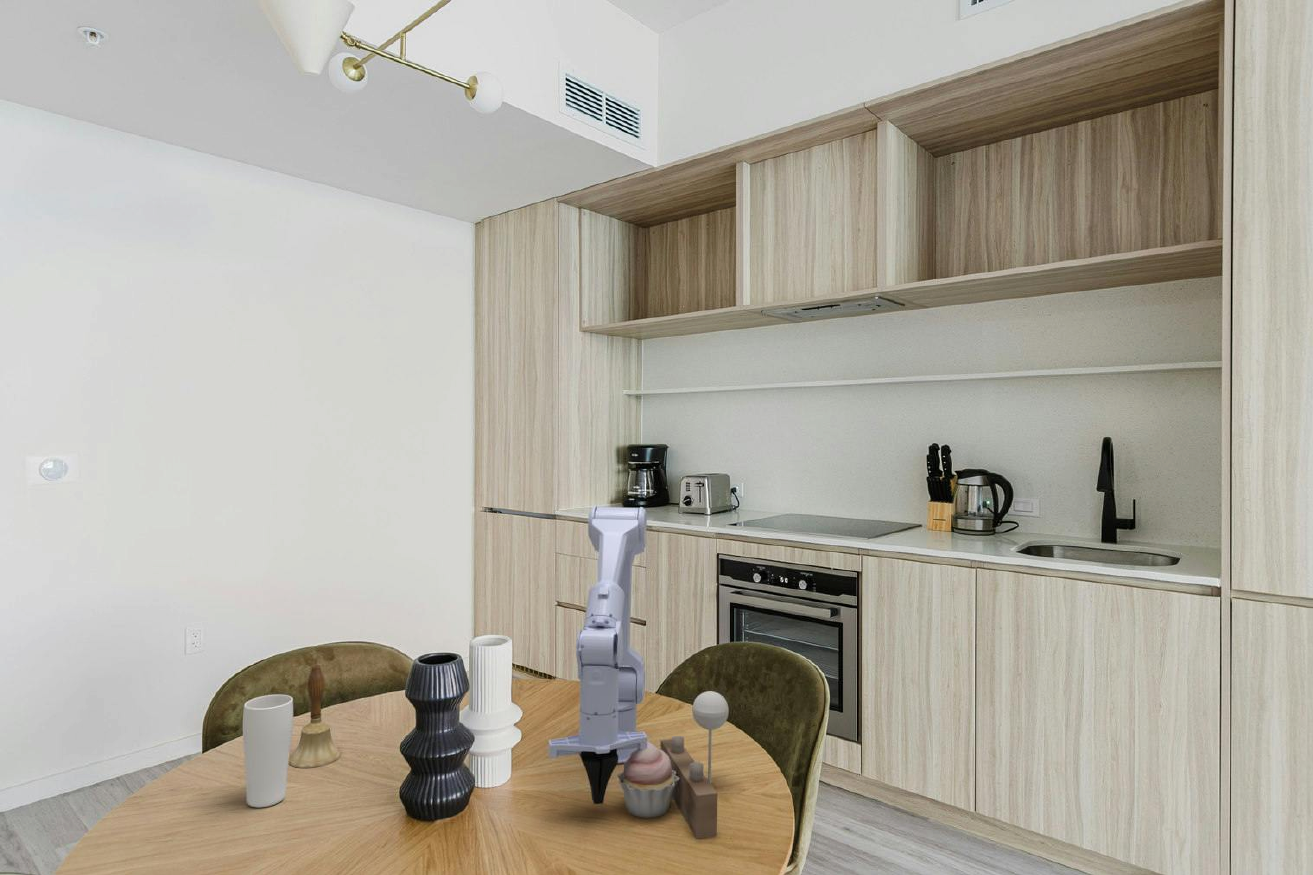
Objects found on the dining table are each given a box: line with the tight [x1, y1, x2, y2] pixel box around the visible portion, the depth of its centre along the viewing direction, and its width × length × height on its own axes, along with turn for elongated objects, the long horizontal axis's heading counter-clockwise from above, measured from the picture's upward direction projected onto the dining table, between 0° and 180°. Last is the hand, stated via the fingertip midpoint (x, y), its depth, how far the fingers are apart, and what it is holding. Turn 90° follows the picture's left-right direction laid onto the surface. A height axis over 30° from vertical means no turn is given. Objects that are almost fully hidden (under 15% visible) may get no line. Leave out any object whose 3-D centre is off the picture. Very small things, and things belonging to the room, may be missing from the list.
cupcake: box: [616, 740, 680, 819], centre depth 110 cm, size 9×9×10 cm
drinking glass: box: [242, 693, 294, 808], centre depth 111 cm, size 7×7×15 cm
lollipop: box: [691, 690, 730, 785], centre depth 118 cm, size 6×6×15 cm
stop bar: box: [659, 735, 718, 840], centre depth 112 cm, size 20×3×8 cm, turn 14°
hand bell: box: [288, 664, 342, 769], centre depth 126 cm, size 8×8×16 cm
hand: (597, 800), depth 108 cm, fingers closed
